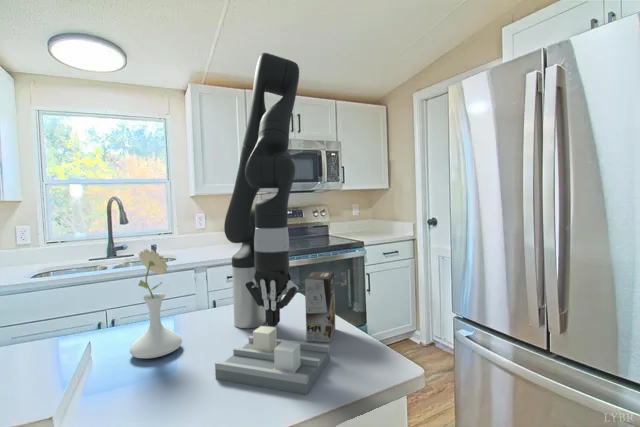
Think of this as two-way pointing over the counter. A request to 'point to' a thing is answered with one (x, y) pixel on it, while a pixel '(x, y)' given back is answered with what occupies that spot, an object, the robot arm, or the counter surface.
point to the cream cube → (265, 339)
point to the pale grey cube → (287, 357)
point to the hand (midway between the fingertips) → (272, 325)
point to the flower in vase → (154, 315)
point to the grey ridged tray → (261, 367)
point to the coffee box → (320, 306)
